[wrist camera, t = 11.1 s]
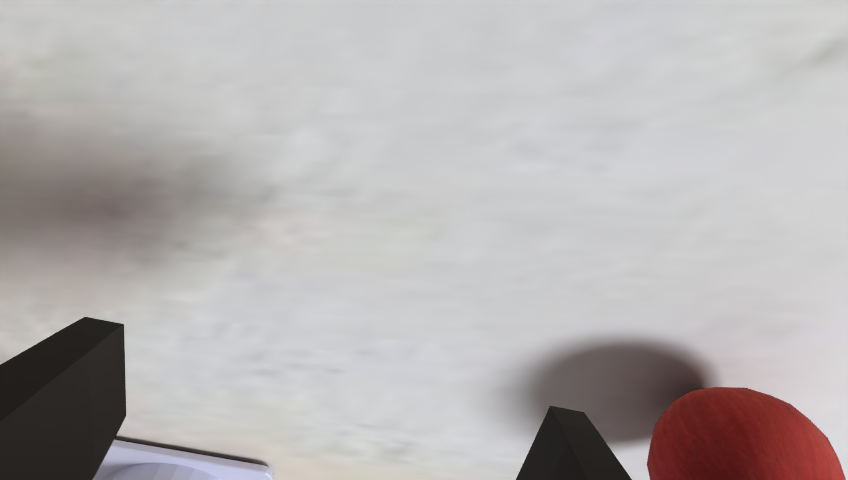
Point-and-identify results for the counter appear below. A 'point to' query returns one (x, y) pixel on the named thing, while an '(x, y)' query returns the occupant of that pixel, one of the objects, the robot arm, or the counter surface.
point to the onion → (738, 440)
